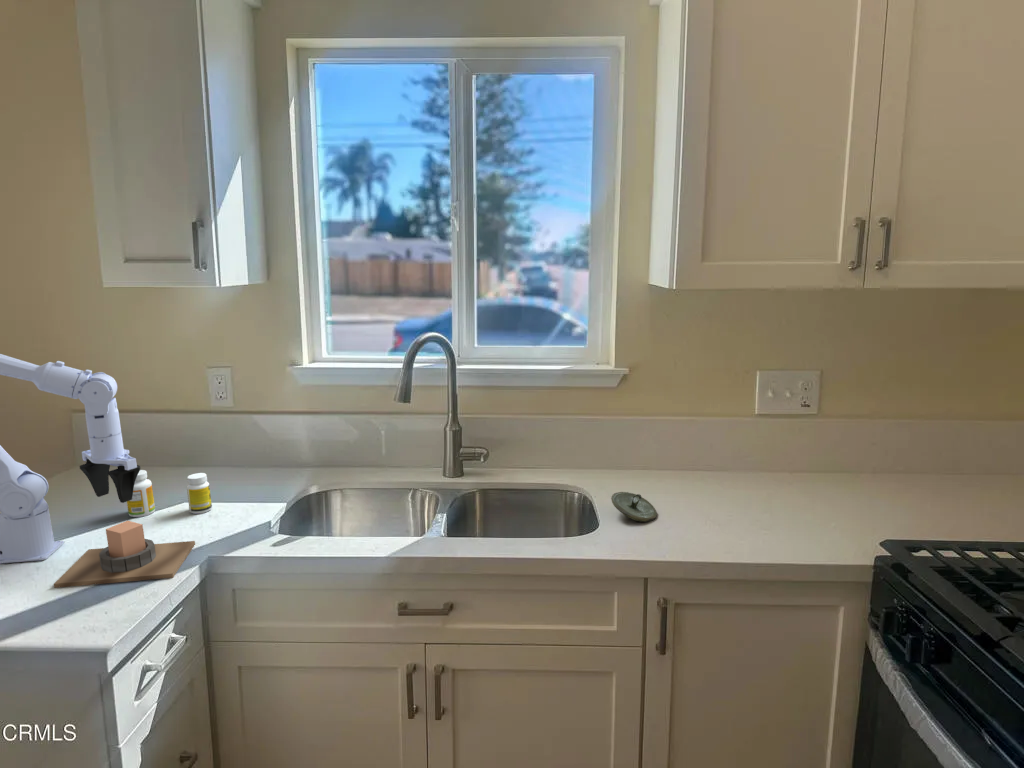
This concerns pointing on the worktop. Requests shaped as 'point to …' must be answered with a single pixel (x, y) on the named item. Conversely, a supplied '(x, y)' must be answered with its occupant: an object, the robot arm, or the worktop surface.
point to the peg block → (125, 539)
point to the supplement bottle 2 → (198, 493)
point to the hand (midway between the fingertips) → (114, 498)
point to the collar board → (146, 572)
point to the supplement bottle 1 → (141, 497)
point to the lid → (634, 506)
